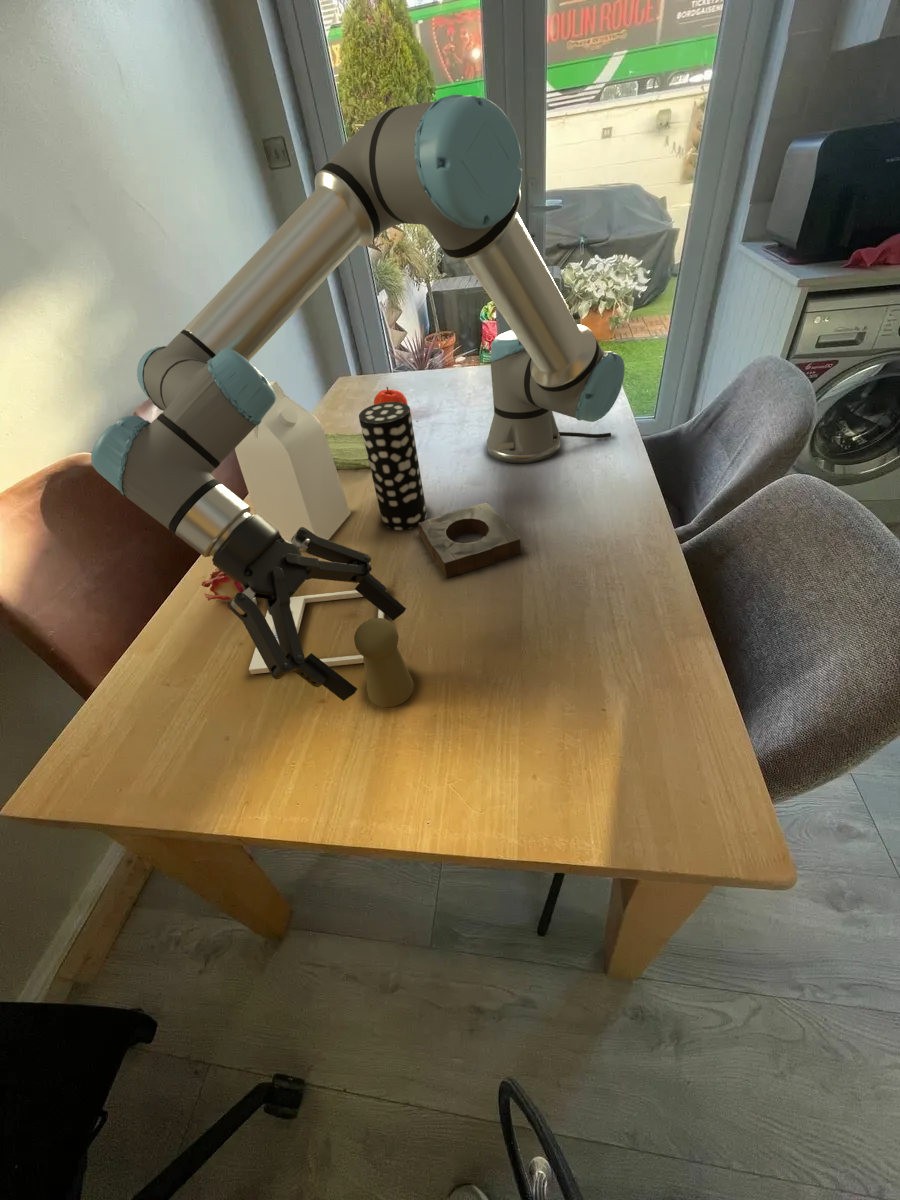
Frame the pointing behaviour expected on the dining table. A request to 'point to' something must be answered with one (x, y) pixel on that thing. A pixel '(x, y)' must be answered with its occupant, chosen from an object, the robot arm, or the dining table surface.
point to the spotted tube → (394, 464)
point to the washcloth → (348, 450)
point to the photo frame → (297, 613)
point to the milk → (292, 471)
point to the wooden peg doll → (383, 663)
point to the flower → (222, 586)
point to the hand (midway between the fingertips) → (377, 652)
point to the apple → (389, 397)
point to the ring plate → (469, 555)
